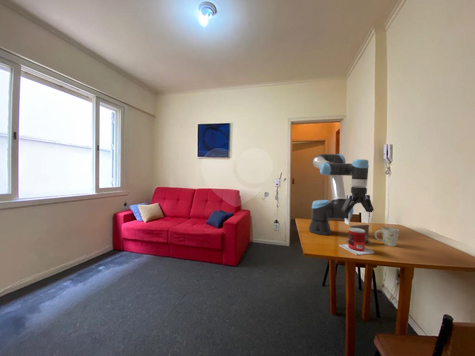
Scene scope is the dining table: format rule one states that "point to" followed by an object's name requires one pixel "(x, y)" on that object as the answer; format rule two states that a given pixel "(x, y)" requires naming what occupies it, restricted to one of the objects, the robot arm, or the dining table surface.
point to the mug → (388, 235)
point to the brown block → (364, 227)
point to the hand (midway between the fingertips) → (356, 223)
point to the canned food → (356, 239)
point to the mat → (365, 251)
